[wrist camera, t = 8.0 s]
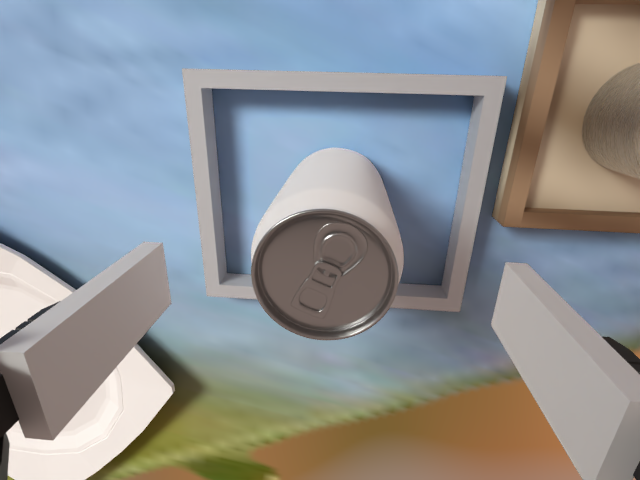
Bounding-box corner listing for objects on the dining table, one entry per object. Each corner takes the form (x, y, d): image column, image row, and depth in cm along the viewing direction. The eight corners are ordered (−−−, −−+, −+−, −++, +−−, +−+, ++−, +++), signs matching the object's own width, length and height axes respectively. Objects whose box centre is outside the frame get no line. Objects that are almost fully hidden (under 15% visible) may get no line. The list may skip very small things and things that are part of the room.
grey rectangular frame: (194, 69, 23) (181, 68, 21) (495, 77, 22) (507, 76, 20) (215, 283, 28) (206, 296, 27) (453, 298, 27) (459, 311, 26)
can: (401, 171, 24) (444, 243, 13) (357, 252, 27) (362, 371, 15) (311, 129, 23) (275, 166, 12) (274, 216, 26) (218, 312, 15)
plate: (206, 368, 32) (194, 391, 30) (73, 487, 40) (55, 513, 38) (-55, 171, 27) (-96, 180, 25) (-149, 353, 35) (-187, 373, 33)
